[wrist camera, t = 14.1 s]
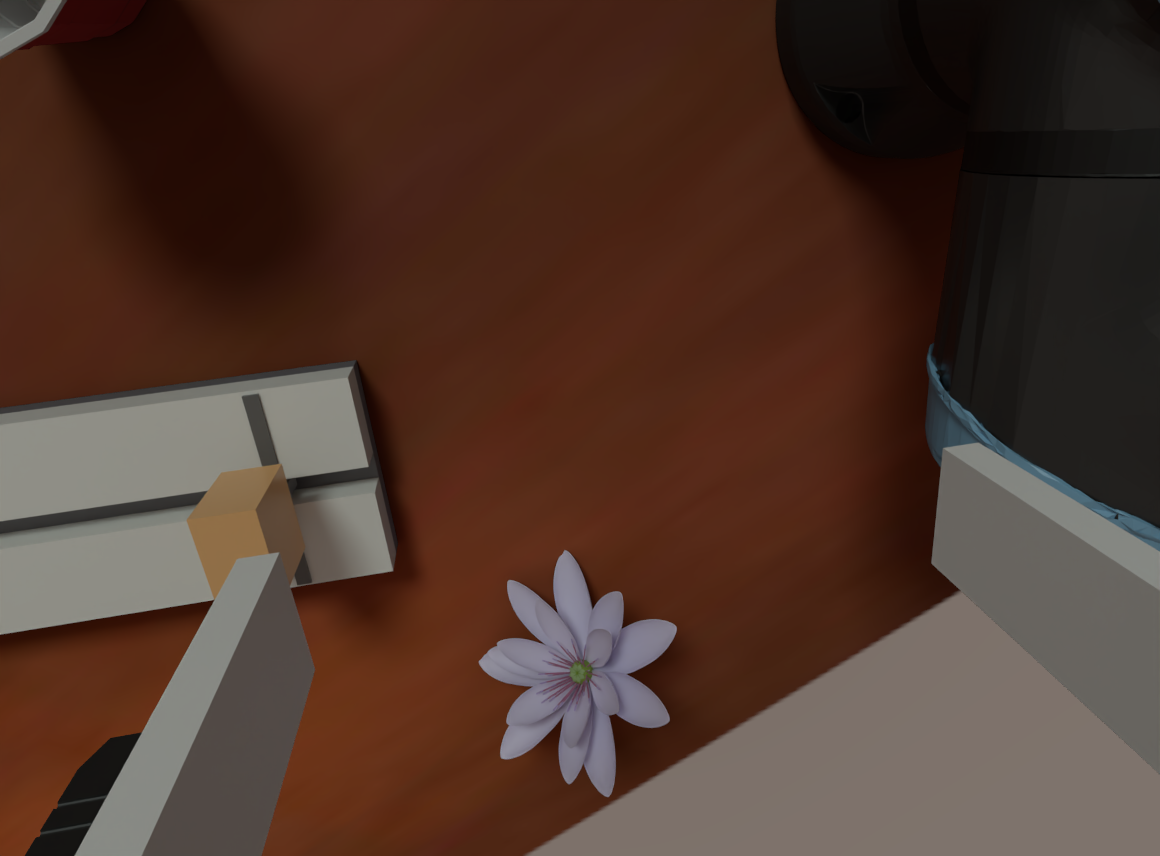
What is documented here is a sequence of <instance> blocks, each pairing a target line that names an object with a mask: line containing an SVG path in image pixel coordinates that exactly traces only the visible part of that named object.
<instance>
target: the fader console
mask: <svg viewBox="0 0 1160 856" xmlns="http://www.w3.org/2000/svg"><path fill="white" fill-rule="evenodd" d="M276 464H282V466H283V470H284V473H285V477H286V479H290V478H296V481H297V486H296V488H295V490H294V492H293V494H292V496H291V498H292V502H293V505H294V509H295V512H296V516H297V519H298V523H299V526H300V530H301V533H302V537H303V540H304V544H305V550H304V552H303V555H302V557H301V560H300V562H299V565H298V567H297V570H296V572H295V575H294V577H293V580H292V582H291V585H290V588H292V587H298V586H304V585H310V584H316V583H322V582H329V581H335V580H341V579H347V578H353V577H360V576H366V575H372V574H378V573H384V572H391V571H393V569H394V563H395V557H396V551H397V546H398V541H397V537H396V532H395V528H394V523H393V519H392V515H391V510H390V506H389V501H388V497H387V493H386V488H385V484H384V479H383V475H382V471H381V466H380V462H379V457H378V453H377V449H376V444H375V440H374V435H373V431H372V427H371V422H370V418H369V413H368V409H367V405H366V400H365V396H364V391H363V387H362V383H361V378H360V374H359V369H358V365H357V360H354V361H347V362H340V363H332V364H325V365H317V366H310V367H302V368H295V369H288V370H280V371H273V372H265V373H258V374H250V375H243V376H235V377H228V378H221V379H213V380H206V381H198V382H191V383H183V384H176V385H168V386H161V387H154V388H146V389H139V390H131V391H124V392H116V393H109V394H102V395H94V396H87V397H79V398H72V399H64V400H57V401H49V402H42V403H35V404H27V405H20V406H12V407H5V408H0V635H1V634H7V633H13V632H19V631H25V630H32V629H38V628H44V627H50V626H56V625H63V624H69V623H75V622H81V621H87V620H93V619H100V618H106V617H112V616H118V615H124V614H131V613H137V612H143V611H149V610H155V609H162V608H168V607H174V606H180V605H186V604H193V603H199V602H205V601H211V600H214V597H213V595H212V592H211V589H210V586H209V583H208V580H207V577H206V575H205V572H204V569H203V566H202V563H201V560H200V558H199V555H198V552H197V549H196V546H195V543H194V541H193V538H192V535H191V532H190V529H189V526H188V523H187V521H186V520H187V519H188V517H189V516H190V514H191V513H192V512H193V510H194V509H195V508H196V506H197V505H198V504H199V502H200V501H201V500H202V498H203V497H204V495H205V494H206V493H207V491H208V490H209V489H210V487H211V486H212V485H213V483H214V482H215V480H216V479H217V478H218V476H219V475H220V474H221V472H228V471H235V470H242V469H249V468H256V467H262V466H269V465H276Z"/></svg>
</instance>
